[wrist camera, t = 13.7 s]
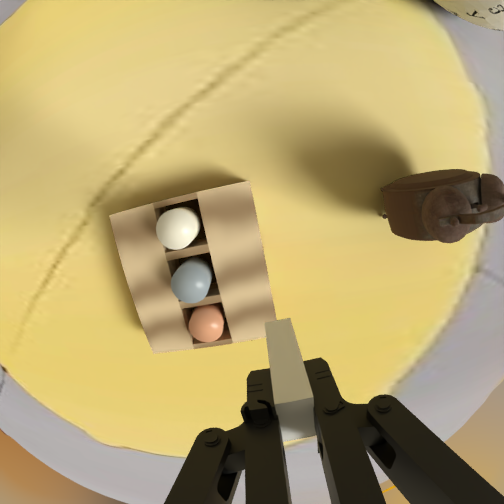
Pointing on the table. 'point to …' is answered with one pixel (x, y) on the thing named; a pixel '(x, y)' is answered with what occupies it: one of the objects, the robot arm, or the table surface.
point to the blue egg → (192, 280)
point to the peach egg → (207, 322)
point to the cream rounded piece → (178, 227)
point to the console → (216, 242)
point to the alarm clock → (442, 204)
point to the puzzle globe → (477, 11)
